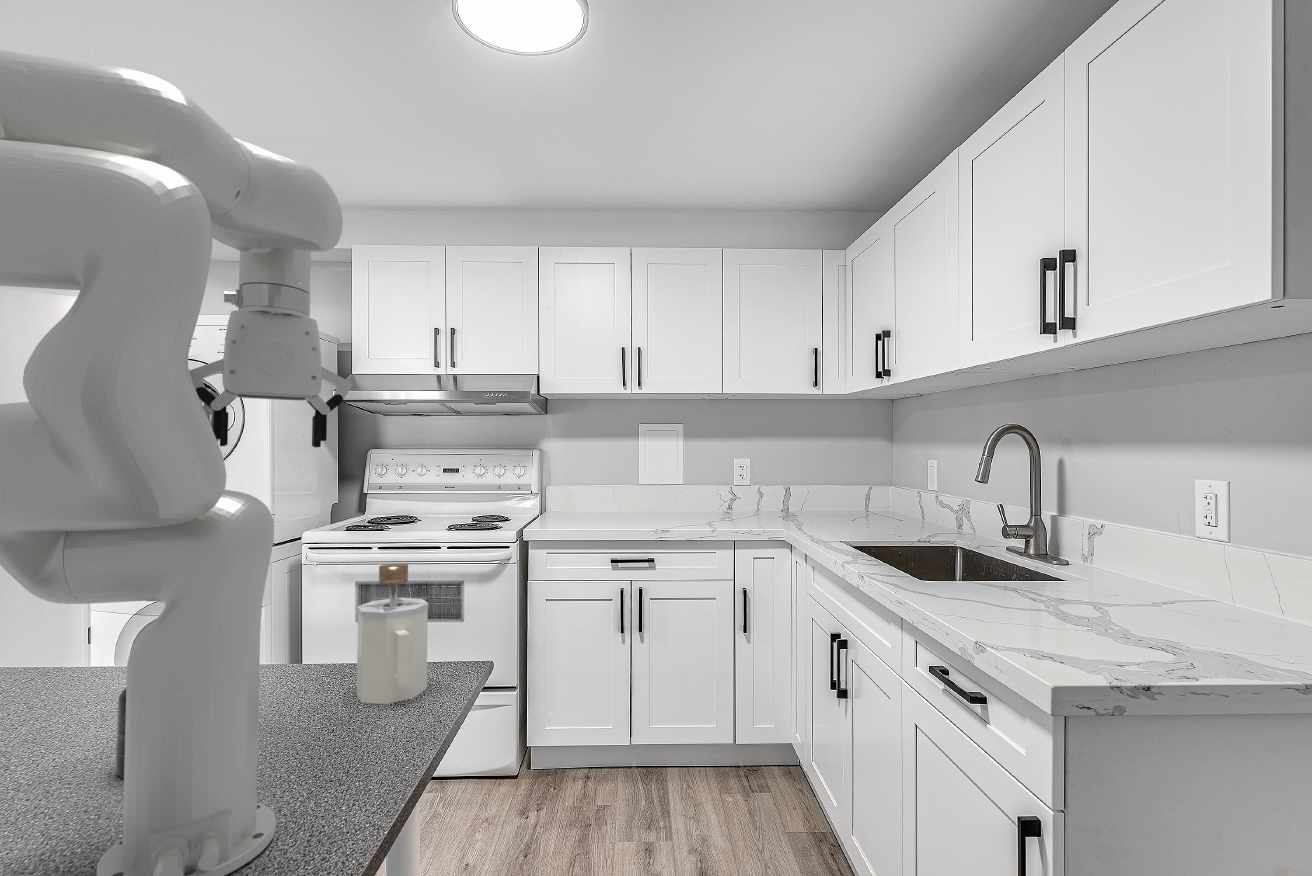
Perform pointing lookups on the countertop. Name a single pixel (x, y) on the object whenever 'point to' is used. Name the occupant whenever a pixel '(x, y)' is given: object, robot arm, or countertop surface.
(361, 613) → the press pot
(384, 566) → the plunger
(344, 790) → the countertop surface
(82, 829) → the countertop surface
